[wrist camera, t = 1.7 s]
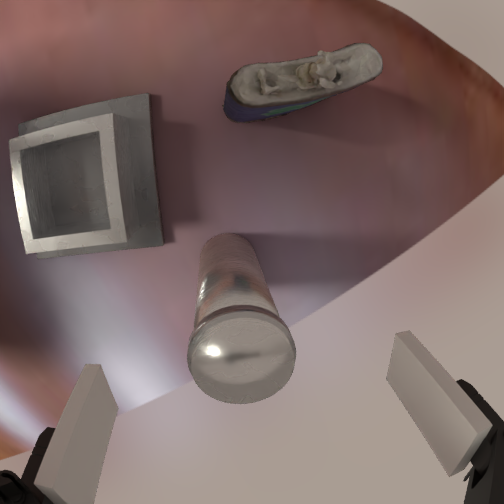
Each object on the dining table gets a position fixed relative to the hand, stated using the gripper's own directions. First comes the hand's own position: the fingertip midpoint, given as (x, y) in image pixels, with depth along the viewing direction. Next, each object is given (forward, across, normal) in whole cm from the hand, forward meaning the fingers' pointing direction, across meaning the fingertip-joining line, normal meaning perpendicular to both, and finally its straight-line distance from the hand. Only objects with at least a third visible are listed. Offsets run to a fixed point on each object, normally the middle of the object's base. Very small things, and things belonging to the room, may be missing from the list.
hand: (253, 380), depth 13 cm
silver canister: (+15, 0, 0) cm, 15 cm away
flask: (+15, +4, +13) cm, 20 cm away
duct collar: (+15, -12, +8) cm, 20 cm away
